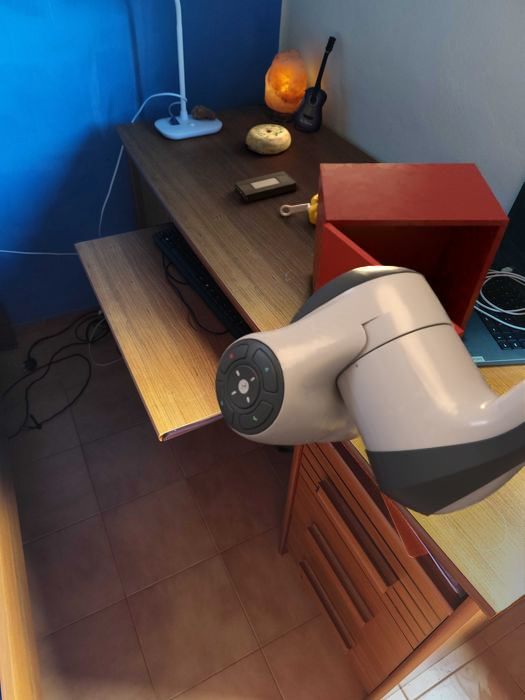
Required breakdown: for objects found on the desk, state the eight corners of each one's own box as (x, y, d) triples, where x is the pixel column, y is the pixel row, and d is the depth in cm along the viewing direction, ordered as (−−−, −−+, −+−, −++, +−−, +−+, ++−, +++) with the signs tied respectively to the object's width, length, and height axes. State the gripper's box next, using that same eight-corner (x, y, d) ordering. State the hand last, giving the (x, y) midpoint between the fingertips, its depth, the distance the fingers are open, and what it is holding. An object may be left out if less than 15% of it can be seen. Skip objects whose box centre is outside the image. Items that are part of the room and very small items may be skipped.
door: (379, 468, 66) (415, 354, 49) (285, 352, 82) (287, 236, 65) (417, 447, 68) (464, 331, 51) (318, 338, 84) (329, 222, 67)
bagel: (294, 154, 137) (294, 137, 134) (249, 158, 136) (248, 140, 132) (286, 136, 146) (286, 119, 143) (244, 139, 145) (243, 122, 142)
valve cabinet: (461, 338, 83) (509, 219, 66) (315, 337, 84) (325, 219, 67) (438, 277, 96) (474, 162, 78) (312, 276, 97) (320, 163, 79)
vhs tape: (235, 189, 123) (234, 182, 122) (283, 178, 127) (283, 170, 126) (246, 202, 118) (246, 195, 117) (296, 189, 122) (296, 182, 121)
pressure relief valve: (329, 207, 115) (332, 229, 108) (281, 214, 117) (282, 237, 110) (327, 186, 111) (330, 208, 104) (278, 195, 113) (278, 217, 106)
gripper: (444, 435, 40) (469, 432, 52) (279, 320, 51) (331, 339, 62) (403, 492, 41) (437, 477, 53) (251, 368, 52) (307, 378, 64)
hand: (379, 401), depth 58 cm, fingers open, 8 cm apart
